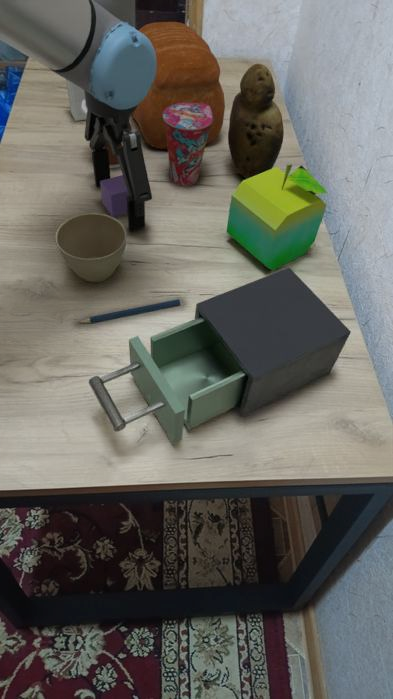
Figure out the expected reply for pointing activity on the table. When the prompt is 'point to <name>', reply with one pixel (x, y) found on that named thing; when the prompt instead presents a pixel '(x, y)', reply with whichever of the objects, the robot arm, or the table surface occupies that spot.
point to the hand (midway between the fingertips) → (119, 205)
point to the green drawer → (178, 379)
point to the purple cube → (114, 195)
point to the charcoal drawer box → (275, 336)
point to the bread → (179, 80)
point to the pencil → (131, 311)
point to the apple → (276, 215)
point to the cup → (186, 139)
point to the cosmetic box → (75, 100)
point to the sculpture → (255, 124)
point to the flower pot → (92, 245)
